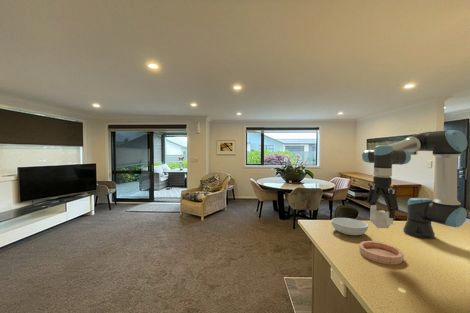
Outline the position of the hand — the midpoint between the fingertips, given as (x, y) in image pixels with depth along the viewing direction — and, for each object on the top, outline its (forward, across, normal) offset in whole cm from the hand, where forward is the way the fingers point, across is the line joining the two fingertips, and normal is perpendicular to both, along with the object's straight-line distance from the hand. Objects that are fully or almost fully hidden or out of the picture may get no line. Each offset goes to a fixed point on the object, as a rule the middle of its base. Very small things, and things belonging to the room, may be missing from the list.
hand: (381, 220), depth 108 cm
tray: (+18, 0, 0) cm, 18 cm away
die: (+3, 0, 0) cm, 3 cm away
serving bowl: (+18, -30, +4) cm, 35 cm away
